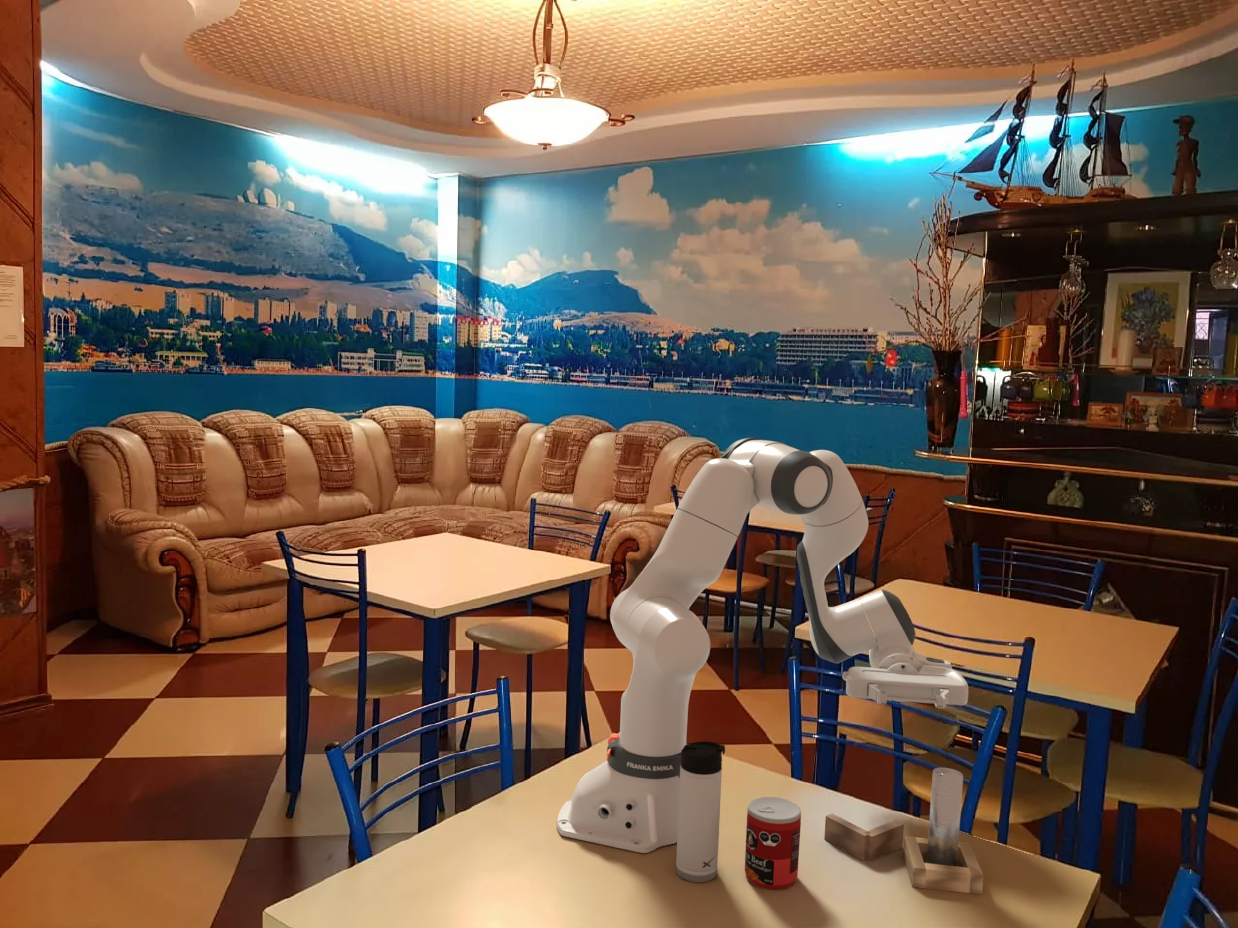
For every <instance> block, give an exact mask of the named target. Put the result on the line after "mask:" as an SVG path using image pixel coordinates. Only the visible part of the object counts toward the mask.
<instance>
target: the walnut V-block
mask: <svg viewBox="0 0 1238 928" xmlns="http://www.w3.org/2000/svg"><path fill="white" fill-rule="evenodd" d="M904 829H905V823H903V822H901V821H900V820H897V819H895V820H893V821H890V822H887V823H885V824H882V825H880V826H877V827H874V828H872V829H869V830H865V829H863V828H861V827H860V826H858V825H856V824H853V823H852V822H850V821H848V820H846V819H845V818H842V817H840V816H839V815H836V814H834V813H829V814H826V815H825V822H824V840H825V841H827V842H829V843H831V844H833V845H835V846H836V847H838V848H840V849H841V850H844V851H845V852H848V853H849V854H851V855H852V856H854V857H856V858H859V860H862V861H865V860H868V861H870V862H871V861H874V860H876V859H879V858H881V857H883V856H886V855H889V854H891V853H892V852H896V851H897V850H900V849H903V845H904Z"/></svg>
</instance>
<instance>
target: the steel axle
mask: <svg viewBox="0 0 1238 928" xmlns="http://www.w3.org/2000/svg"><path fill="white" fill-rule="evenodd" d="M963 784H964V774H963V773H962V772H961V771H959V770H956V769H954V768H949V767H937V768H936V767H935V768H933V769H932V779H931V791H930V792H931V793H930V805H929V807H930V808H929V822H928V823H929V824H928V834H927V835H928V836H927V838H928V849H927V862H926V863H930V864H939V865H948V866H957V867H958V865H957V856H958V842H960V841H959V839H960V838H959V837H960V828H961V813H962V812H961V811H962V799H963Z"/></svg>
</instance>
